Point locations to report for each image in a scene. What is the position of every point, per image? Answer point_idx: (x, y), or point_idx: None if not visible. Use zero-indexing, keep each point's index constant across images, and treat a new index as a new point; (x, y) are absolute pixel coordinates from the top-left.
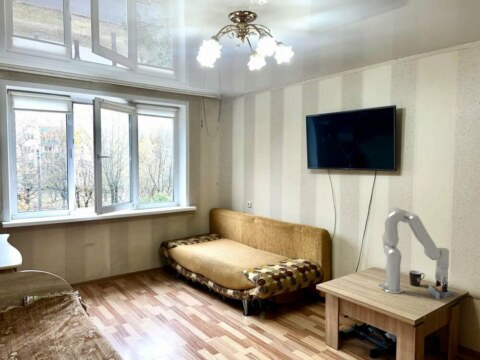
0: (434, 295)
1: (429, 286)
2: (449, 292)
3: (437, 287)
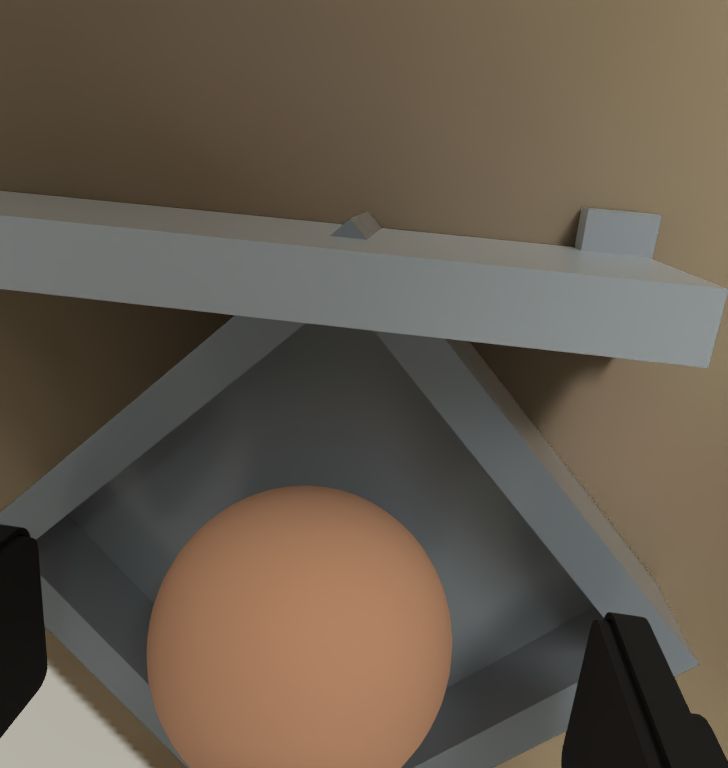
0: (100, 203)
1: (625, 274)
2: (178, 755)
3: (669, 651)
